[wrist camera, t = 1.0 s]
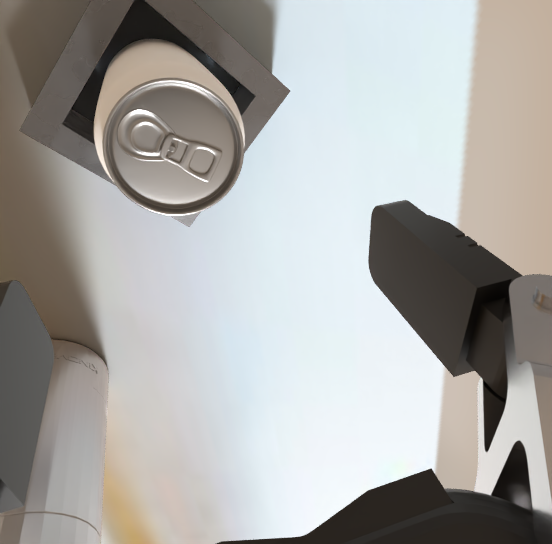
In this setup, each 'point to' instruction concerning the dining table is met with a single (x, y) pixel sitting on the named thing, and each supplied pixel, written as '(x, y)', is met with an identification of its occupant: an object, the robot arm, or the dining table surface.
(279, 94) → the sleeve
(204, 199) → the can
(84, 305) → the dining table surface
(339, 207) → the dining table surface
